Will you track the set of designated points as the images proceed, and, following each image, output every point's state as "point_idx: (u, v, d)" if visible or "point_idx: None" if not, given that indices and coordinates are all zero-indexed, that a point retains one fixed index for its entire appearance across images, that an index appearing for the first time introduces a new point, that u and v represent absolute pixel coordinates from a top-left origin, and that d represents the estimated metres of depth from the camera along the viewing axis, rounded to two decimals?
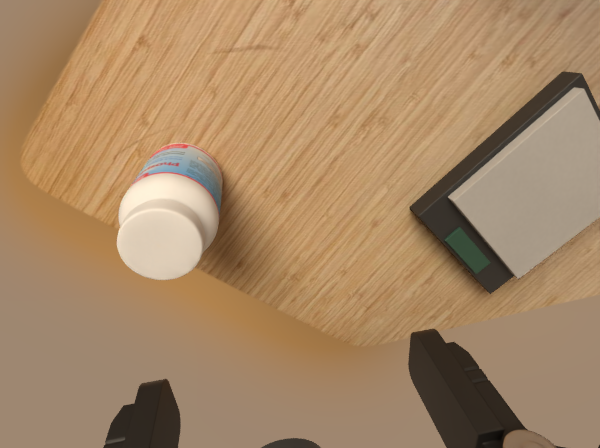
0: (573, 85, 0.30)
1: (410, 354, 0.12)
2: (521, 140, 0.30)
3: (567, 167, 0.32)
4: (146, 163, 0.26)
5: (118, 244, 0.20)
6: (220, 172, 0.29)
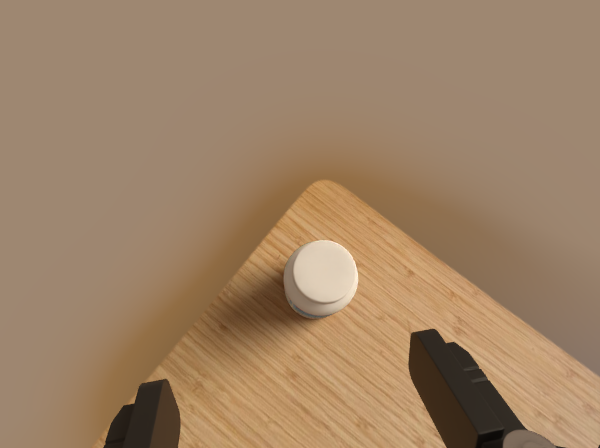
0: None
1: (410, 354, 0.12)
2: None
3: None
4: None
5: (328, 241, 0.27)
6: (323, 317, 0.35)
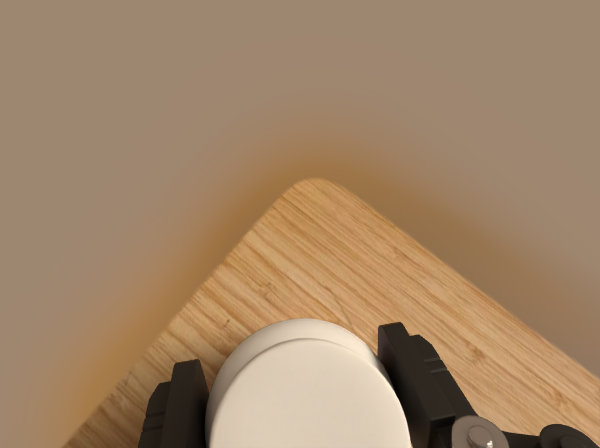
0: None
1: (378, 347, 0.13)
2: None
3: None
4: None
5: (325, 346, 0.09)
6: None
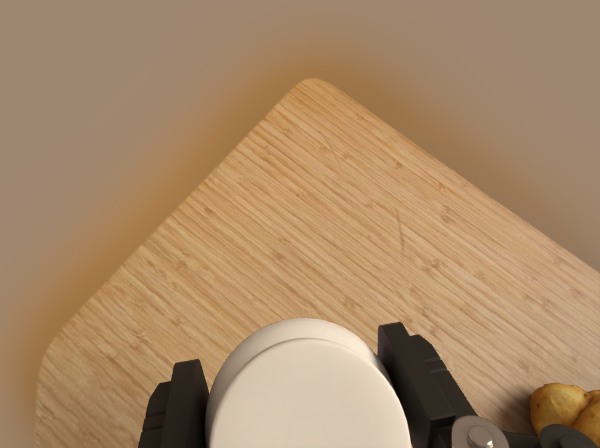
0: None
1: (378, 347, 0.13)
2: None
3: None
4: None
5: (325, 346, 0.09)
6: None
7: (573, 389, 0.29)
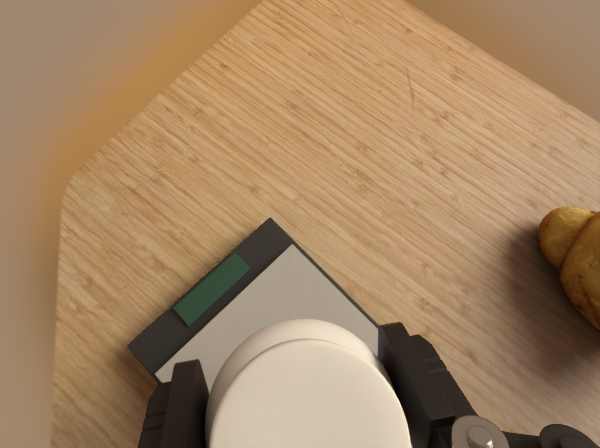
0: None
1: (378, 347, 0.13)
2: None
3: None
4: None
5: (325, 347, 0.09)
6: None
7: (581, 208, 0.30)
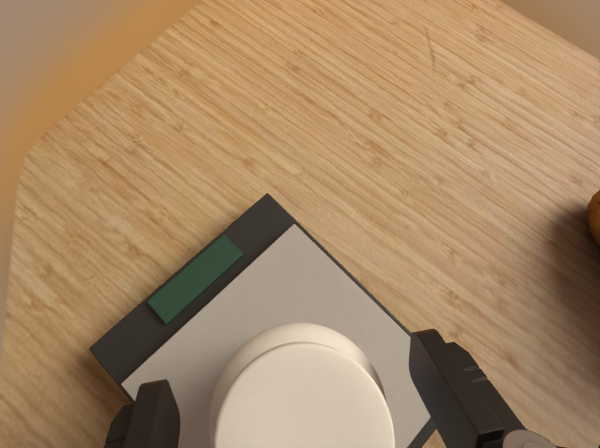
0: None
1: (410, 354, 0.12)
2: None
3: None
4: None
5: (318, 349, 0.10)
6: None
7: None
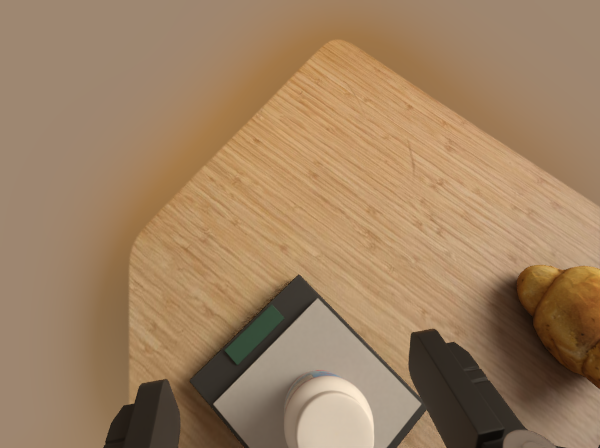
0: (418, 401, 0.33)
1: (410, 354, 0.12)
2: (373, 355, 0.34)
3: None
4: None
5: (340, 396, 0.22)
6: None
7: (550, 267, 0.37)
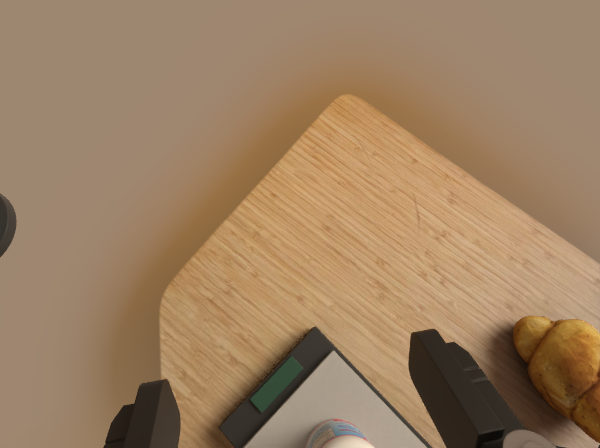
0: (424, 444, 0.37)
1: (410, 354, 0.12)
2: (383, 403, 0.37)
3: None
4: (362, 434, 0.34)
5: None
6: None
7: (543, 318, 0.41)
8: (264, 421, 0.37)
